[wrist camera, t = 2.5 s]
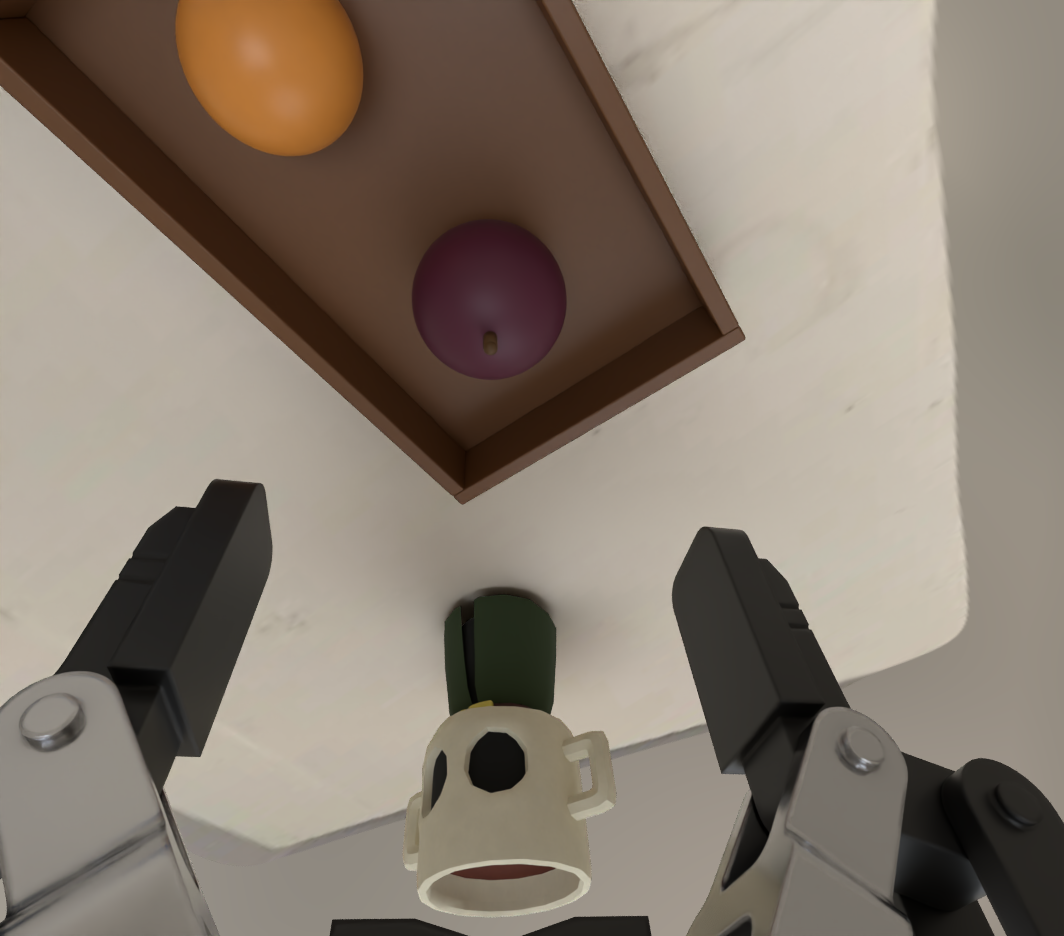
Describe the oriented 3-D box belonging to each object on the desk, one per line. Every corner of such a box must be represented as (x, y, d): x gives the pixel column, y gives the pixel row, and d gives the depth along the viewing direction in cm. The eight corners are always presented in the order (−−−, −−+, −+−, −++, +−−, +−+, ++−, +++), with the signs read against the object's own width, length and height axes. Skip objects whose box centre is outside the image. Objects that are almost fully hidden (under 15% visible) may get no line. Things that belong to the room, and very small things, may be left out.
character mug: (548, 547, 30) (579, 830, 20) (613, 617, 34) (665, 882, 24) (383, 626, 33) (339, 902, 23) (459, 681, 37) (449, 938, 27)
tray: (4, 7, 16) (-82, 12, 13) (329, -441, 12) (289, -548, 9) (464, 458, 26) (462, 505, 24) (718, 301, 22) (746, 340, 20)
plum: (389, 258, 20) (361, 334, 16) (503, 166, 18) (509, 223, 14) (477, 360, 23) (476, 450, 18) (585, 287, 21) (610, 366, 17)
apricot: (179, 29, 16) (99, 41, 13) (286, -95, 14) (229, -117, 11) (303, 169, 18) (262, 210, 15) (406, 73, 17) (386, 95, 13)
